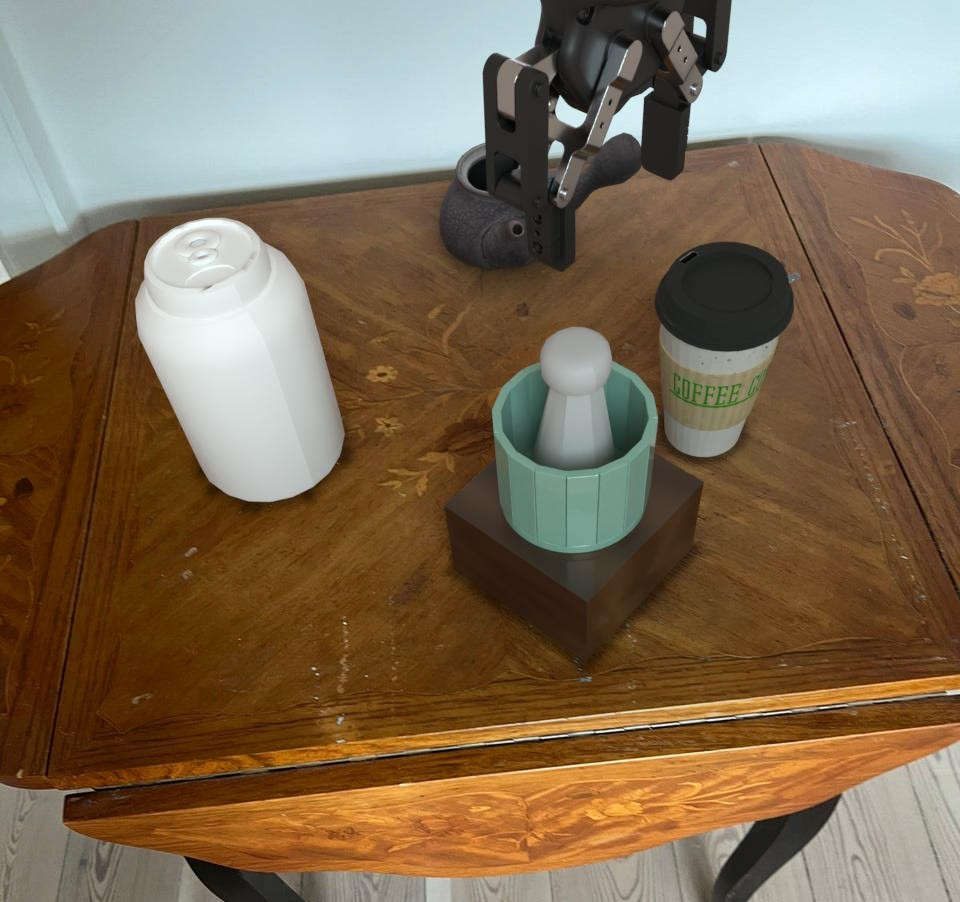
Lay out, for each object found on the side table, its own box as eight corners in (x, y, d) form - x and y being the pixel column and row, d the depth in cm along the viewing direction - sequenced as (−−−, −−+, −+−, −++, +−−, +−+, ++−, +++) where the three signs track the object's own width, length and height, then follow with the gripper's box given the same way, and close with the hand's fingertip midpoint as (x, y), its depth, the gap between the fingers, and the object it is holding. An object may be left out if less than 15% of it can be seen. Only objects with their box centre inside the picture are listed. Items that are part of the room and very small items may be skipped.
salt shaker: (526, 515, 69) (518, 376, 58) (537, 452, 72) (532, 307, 60) (611, 523, 68) (620, 383, 57) (619, 458, 71) (630, 313, 59)
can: (187, 423, 88) (94, 225, 70) (322, 377, 89) (264, 173, 72) (221, 527, 81) (129, 338, 64) (366, 475, 83) (314, 278, 66)
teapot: (453, 311, 92) (442, 217, 84) (434, 207, 100) (421, 111, 92) (654, 280, 93) (663, 182, 84) (619, 178, 101) (624, 80, 92)
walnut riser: (561, 468, 82) (560, 398, 75) (691, 548, 77) (704, 481, 70) (454, 569, 78) (443, 505, 71) (585, 662, 73) (587, 602, 66)
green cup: (562, 416, 74) (562, 332, 67) (677, 484, 70) (690, 402, 63) (469, 502, 71) (459, 424, 64) (584, 579, 67) (586, 504, 60)
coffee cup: (706, 494, 79) (733, 352, 67) (617, 428, 84) (627, 282, 71) (788, 428, 82) (829, 279, 69) (698, 367, 86) (721, 217, 74)
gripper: (575, -69, 32) (576, 328, 46) (824, -237, 36) (756, 169, 50) (407, -126, 35) (456, 263, 49) (658, -275, 39) (637, 119, 53)
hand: (609, 215), depth 49 cm, fingers open, 8 cm apart
